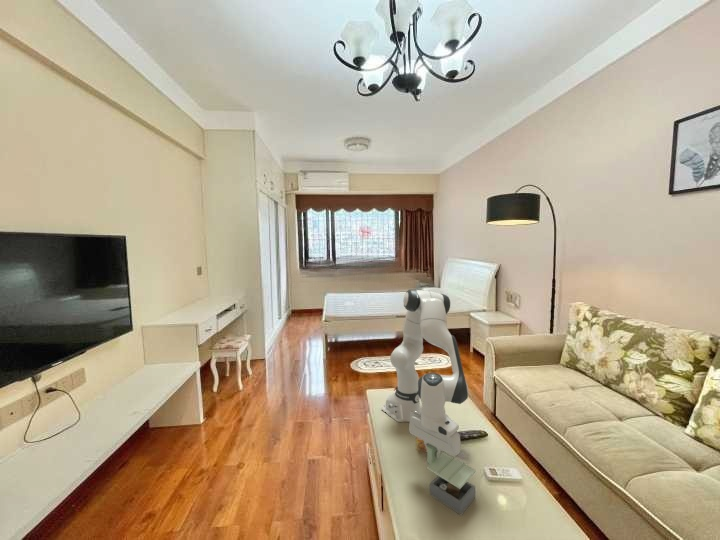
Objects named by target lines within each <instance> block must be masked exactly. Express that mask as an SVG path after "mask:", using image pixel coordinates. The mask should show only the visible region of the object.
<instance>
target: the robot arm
mask: <svg viewBox="0 0 720 540" xmlns="http://www.w3.org/2000/svg"><path fill="white" fill-rule="evenodd" d="M402 302H403V307H404V308H405V310H406V314H405V317H404V322H403V325H402V329H401V332H402V335H403V336H402V337H403V339H402V342H401V343H400V344H399V345H398V346H397V347H395V348H394V350H393V351H392V352H391V354H390V359H389V361H390V363H391V365H392V366H393V367H394V369H395V372H396V376H397V377H396V378H397V379H396V380H397V386H396V387H394V388H393V391H394V393H392V394H391V395H389V396H388V397H387V398H386V400H385V403H384V404H383V405H382V406H381V409H382V410H383V411H382V410H381V411H382V412H384V413H385V412H386V413H387V414H386V413H385V414H386V415H388V416H389V417H390V416H391V417H390V418H392V419H393V420H395V421H396V422H397V423H401V422H403V423H404V422H408V423H409V425H408V430H409V433H410V434H411V436H414V437H415V438H416V437H418V438H420V439H421V440H423V441H424V444H425V446H426V448H427V447H428V446H429V445H430V444H431V445H433V446H434V447H436V448H437V451H436V452H435V453H434V454H435V457H436V458H438V459H439V458H440V456H441V454H442V452H444V453H446V454H448V455H449V456H451V457H454V458H455V457H457V456H458V455H459V454H460V453H461V451H462V444H461V436H460V434H459V431H458V430H459V424H458V423H457V422H456V421H454V420H453V419H452V418H451V417H450V416H449V415H448V414H447V411H446V409H445V408H446V407H445V406H446V405H445V404H446V402H448V403H453V404H458V405H461V404H462V403H465V401H467V400H468V397H469V386H468V383H467V380H466V378H465V377H466V376H465V373H464V369H463V364H462V359H461V355H460V350H459V346H458V342H457V339H456V337H455V335H453V334H451V332H450V331H449V329H448V324H447V322H448V321H447V314H448V313H449V311H450V309H451V300H450V297H449V296H448V295H447V294H444V293H438V292H436V291H430V290H421V289H418V290H417V289H414V288H413V289H408V290H406V292H405V293H404V296H403V301H402ZM424 340H425V341H426V342H427V343H429V344H431V345H433V346H435V347H437V348H440V349H442V350H444V351H445V352H446V353H447V354H448V357H449V360H450V364H451V370H452V374H451V375H448V374H439V373H436V372H428V373H424V374H422V375H421V376H420V377H419V374H418V372H417V371H416V367H415V363H416V361H418V359H420V357H421V356H422V354H423V352H424V345H423V343H424ZM420 402H421V403H420Z"/></svg>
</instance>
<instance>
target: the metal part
mask: <svg viewBox="0 0 720 540" xmlns="http://www.w3.org/2000/svg"><path fill="white" fill-rule="evenodd" d="M439 488H441V489H442V490H444V491H445V492H447V484H446V483H445V482H440V483H439Z"/></svg>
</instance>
